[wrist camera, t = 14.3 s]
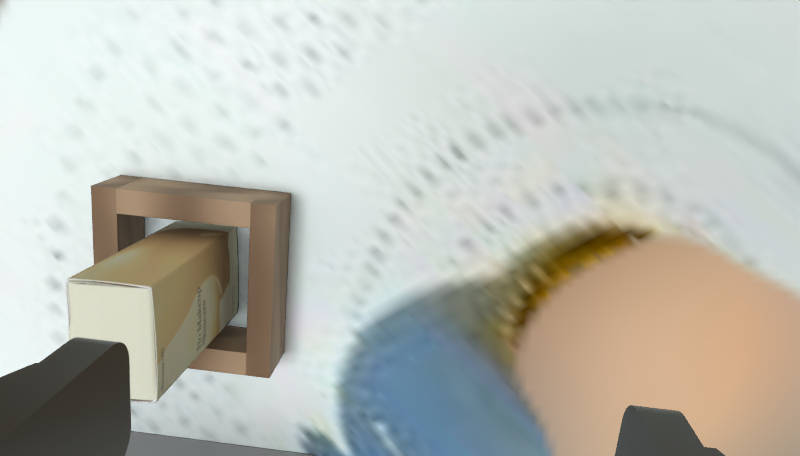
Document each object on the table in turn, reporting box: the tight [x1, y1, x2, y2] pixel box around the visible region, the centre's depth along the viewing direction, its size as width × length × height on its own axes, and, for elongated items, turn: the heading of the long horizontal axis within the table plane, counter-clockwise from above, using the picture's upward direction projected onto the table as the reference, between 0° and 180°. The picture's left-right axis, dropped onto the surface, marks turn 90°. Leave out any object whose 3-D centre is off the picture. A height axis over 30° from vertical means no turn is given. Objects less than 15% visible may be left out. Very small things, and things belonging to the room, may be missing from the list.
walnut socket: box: [91, 175, 291, 378], centre depth 41 cm, size 11×11×4 cm
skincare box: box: [66, 222, 238, 403], centre depth 37 cm, size 6×4×12 cm
